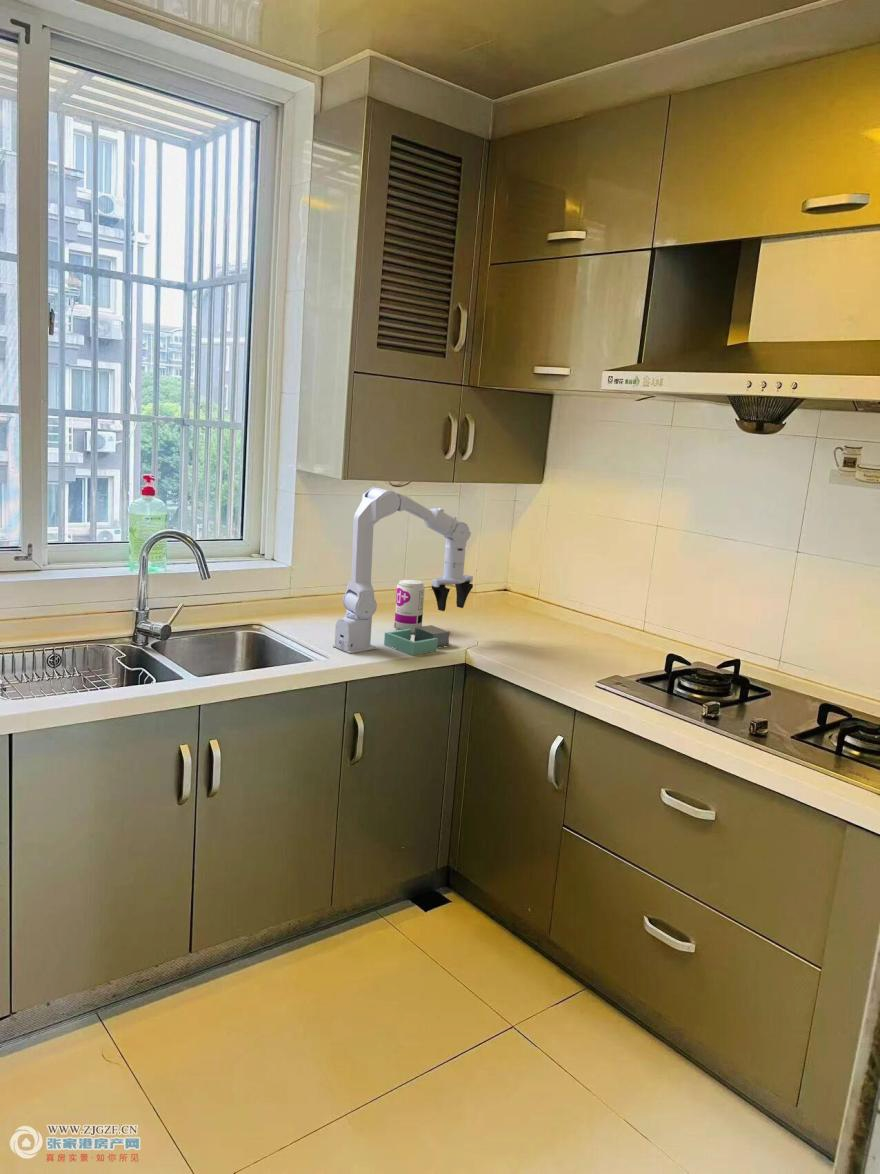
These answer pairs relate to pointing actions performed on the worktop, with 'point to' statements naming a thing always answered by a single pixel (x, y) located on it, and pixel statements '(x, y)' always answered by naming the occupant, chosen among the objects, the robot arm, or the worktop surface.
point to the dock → (409, 642)
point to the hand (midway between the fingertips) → (450, 608)
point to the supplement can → (409, 604)
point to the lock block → (432, 635)
